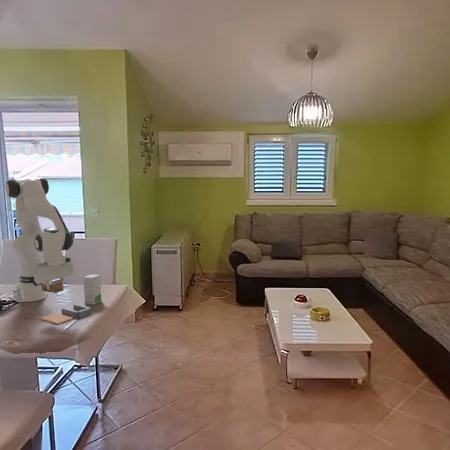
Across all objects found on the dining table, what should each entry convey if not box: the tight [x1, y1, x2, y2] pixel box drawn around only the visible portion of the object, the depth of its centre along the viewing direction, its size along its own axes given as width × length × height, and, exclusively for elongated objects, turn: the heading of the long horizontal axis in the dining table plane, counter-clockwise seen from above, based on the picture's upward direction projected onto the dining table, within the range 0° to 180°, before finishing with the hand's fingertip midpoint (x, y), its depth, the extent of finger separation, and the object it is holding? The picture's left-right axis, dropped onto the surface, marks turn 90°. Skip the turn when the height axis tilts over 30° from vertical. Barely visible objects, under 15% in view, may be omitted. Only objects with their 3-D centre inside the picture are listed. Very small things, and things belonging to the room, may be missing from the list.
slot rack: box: [61, 303, 93, 319], centre depth 218 cm, size 12×9×3 cm
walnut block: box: [41, 278, 64, 294], centre depth 209 cm, size 10×5×6 cm, turn 61°
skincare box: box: [83, 274, 102, 306], centre depth 236 cm, size 8×7×16 cm
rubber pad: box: [39, 312, 74, 326], centre depth 210 cm, size 14×9×1 cm, turn 59°
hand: (55, 287), depth 208 cm, fingers closed on walnut block, 5 cm apart
